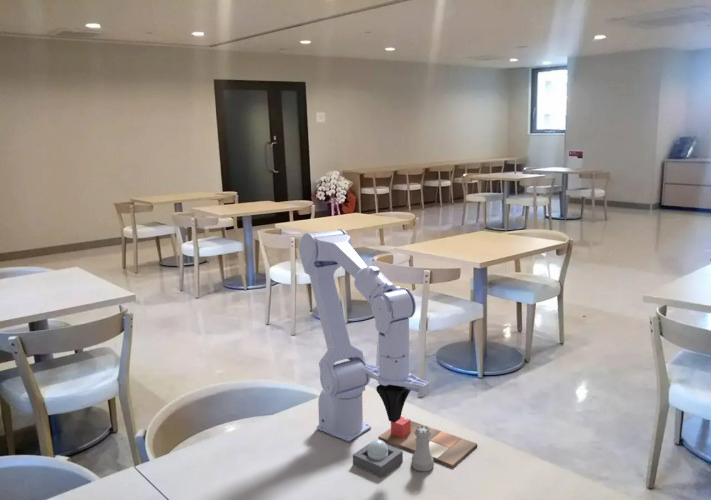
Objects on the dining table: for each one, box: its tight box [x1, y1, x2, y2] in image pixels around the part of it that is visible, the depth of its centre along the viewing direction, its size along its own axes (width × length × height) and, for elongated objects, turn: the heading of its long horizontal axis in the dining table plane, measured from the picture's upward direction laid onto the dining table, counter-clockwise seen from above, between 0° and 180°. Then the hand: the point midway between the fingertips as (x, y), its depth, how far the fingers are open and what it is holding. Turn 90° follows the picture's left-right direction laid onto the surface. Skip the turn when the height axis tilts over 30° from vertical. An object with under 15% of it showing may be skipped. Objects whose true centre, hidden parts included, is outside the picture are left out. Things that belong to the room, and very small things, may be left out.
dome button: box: [368, 438, 388, 462], centre depth 115 cm, size 4×4×4 cm
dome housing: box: [352, 442, 404, 478], centre depth 116 cm, size 7×7×2 cm
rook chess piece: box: [410, 424, 435, 472], centre depth 114 cm, size 4×4×8 cm
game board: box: [377, 420, 478, 469], centre depth 123 cm, size 18×10×1 cm, turn 51°
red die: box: [390, 416, 412, 438], centre depth 126 cm, size 3×3×3 cm
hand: (394, 419), depth 113 cm, fingers closed
